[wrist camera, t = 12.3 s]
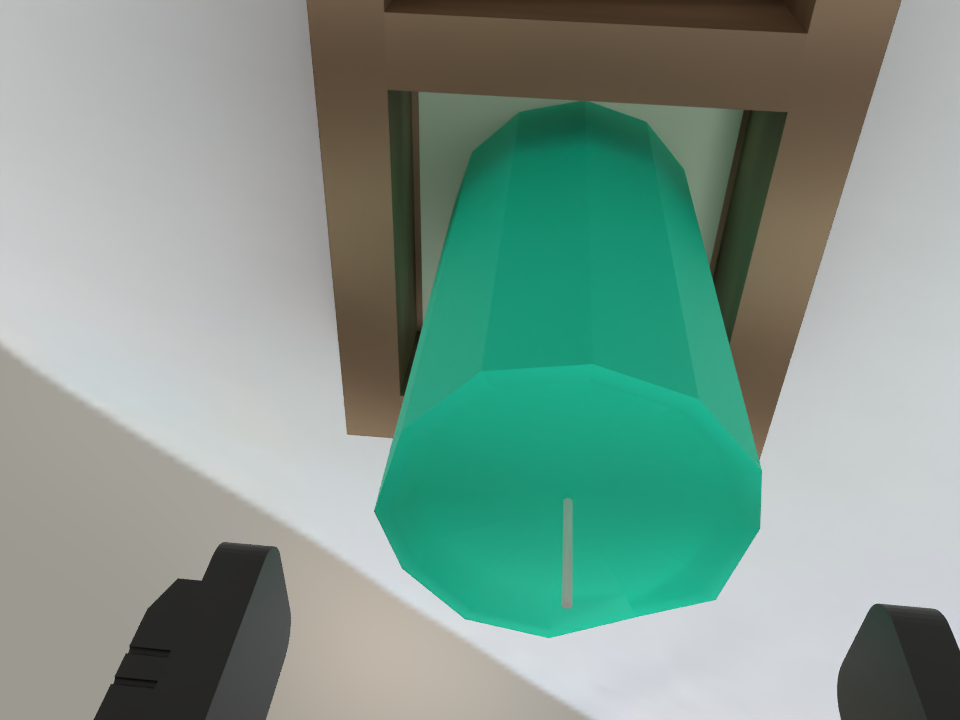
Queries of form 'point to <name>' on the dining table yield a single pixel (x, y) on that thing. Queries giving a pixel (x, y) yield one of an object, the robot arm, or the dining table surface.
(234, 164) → the dining table surface
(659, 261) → the candle
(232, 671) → the robot arm
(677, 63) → the slot rack
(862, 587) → the dining table surface
